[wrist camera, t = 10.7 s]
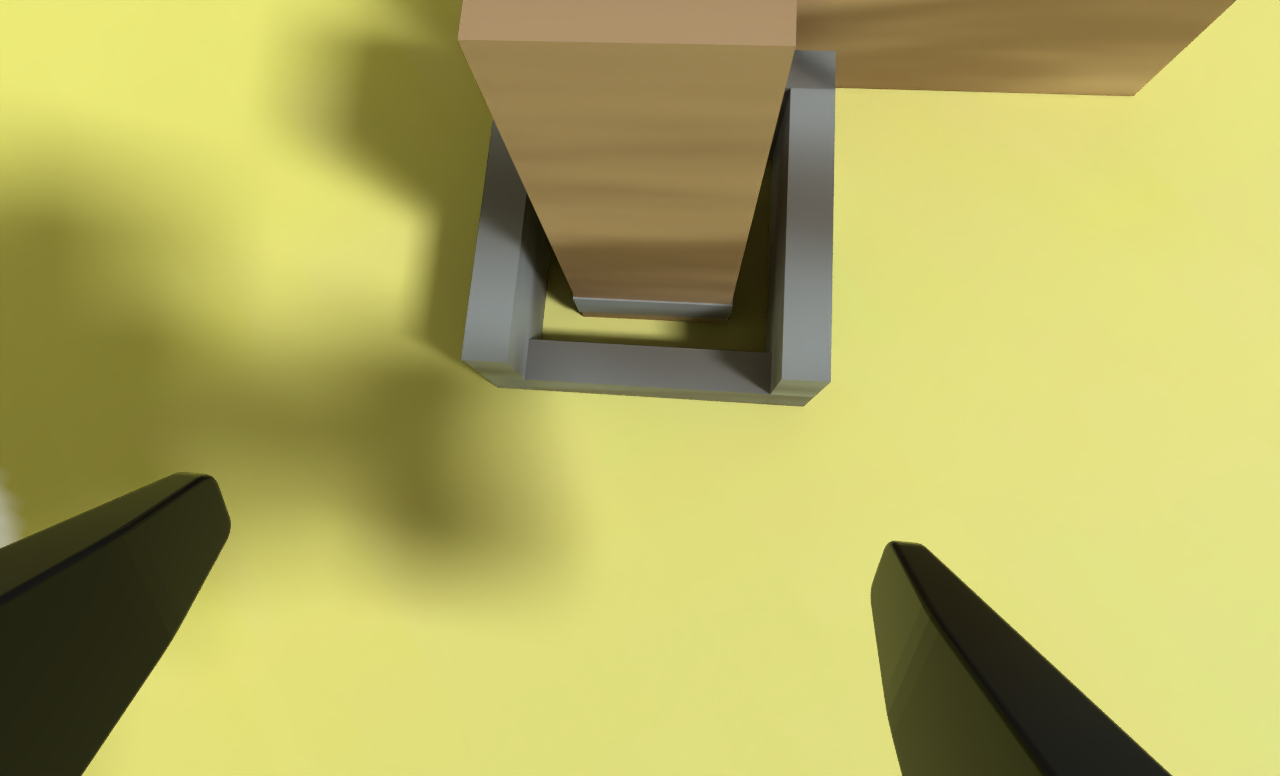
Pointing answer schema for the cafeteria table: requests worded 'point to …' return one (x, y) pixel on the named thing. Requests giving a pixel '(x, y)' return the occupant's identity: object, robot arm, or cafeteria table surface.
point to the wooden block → (638, 137)
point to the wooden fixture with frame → (810, 182)
